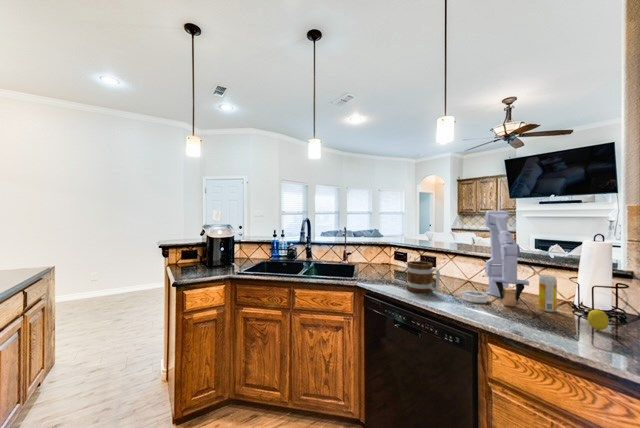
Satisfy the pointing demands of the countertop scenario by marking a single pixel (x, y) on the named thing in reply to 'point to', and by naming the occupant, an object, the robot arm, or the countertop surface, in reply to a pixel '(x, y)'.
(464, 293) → the round grey ashtray
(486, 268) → the robot arm
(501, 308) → the countertop surface
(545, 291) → the beer can
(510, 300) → the tan cup
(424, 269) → the mug
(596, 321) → the lemon
